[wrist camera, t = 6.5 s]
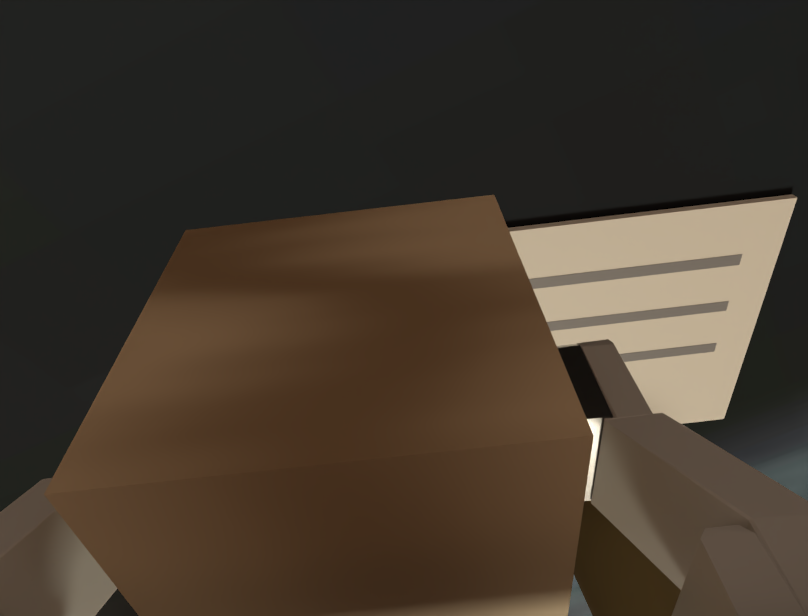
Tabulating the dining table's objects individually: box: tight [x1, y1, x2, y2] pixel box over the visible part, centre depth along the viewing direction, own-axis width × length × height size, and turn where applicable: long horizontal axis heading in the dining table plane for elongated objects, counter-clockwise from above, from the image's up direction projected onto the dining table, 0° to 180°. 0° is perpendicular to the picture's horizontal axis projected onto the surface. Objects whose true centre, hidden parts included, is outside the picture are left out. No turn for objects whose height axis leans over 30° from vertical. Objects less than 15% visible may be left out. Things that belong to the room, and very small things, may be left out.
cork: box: [574, 500, 681, 616], centre depth 29 cm, size 6×6×11 cm
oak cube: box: [44, 195, 594, 616], centre depth 9 cm, size 5×5×5 cm
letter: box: [508, 194, 797, 424], centre depth 25 cm, size 16×12×1 cm
